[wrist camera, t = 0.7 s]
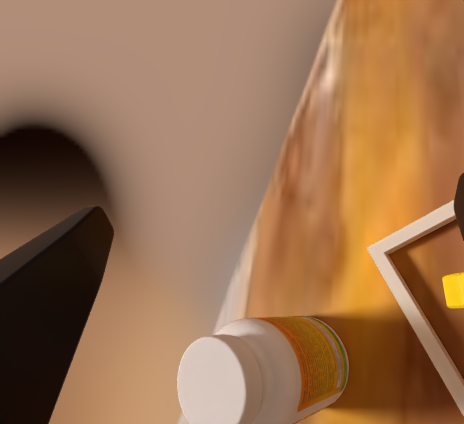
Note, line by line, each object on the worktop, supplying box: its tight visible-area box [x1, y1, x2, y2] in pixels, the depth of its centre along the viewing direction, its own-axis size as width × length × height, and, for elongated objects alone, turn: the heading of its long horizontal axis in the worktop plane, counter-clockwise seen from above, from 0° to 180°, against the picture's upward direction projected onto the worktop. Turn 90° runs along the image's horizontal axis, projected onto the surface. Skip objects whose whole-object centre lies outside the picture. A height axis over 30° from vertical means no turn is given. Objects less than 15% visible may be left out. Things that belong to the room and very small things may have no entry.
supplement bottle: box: [177, 316, 349, 424], centre depth 19 cm, size 5×5×10 cm
